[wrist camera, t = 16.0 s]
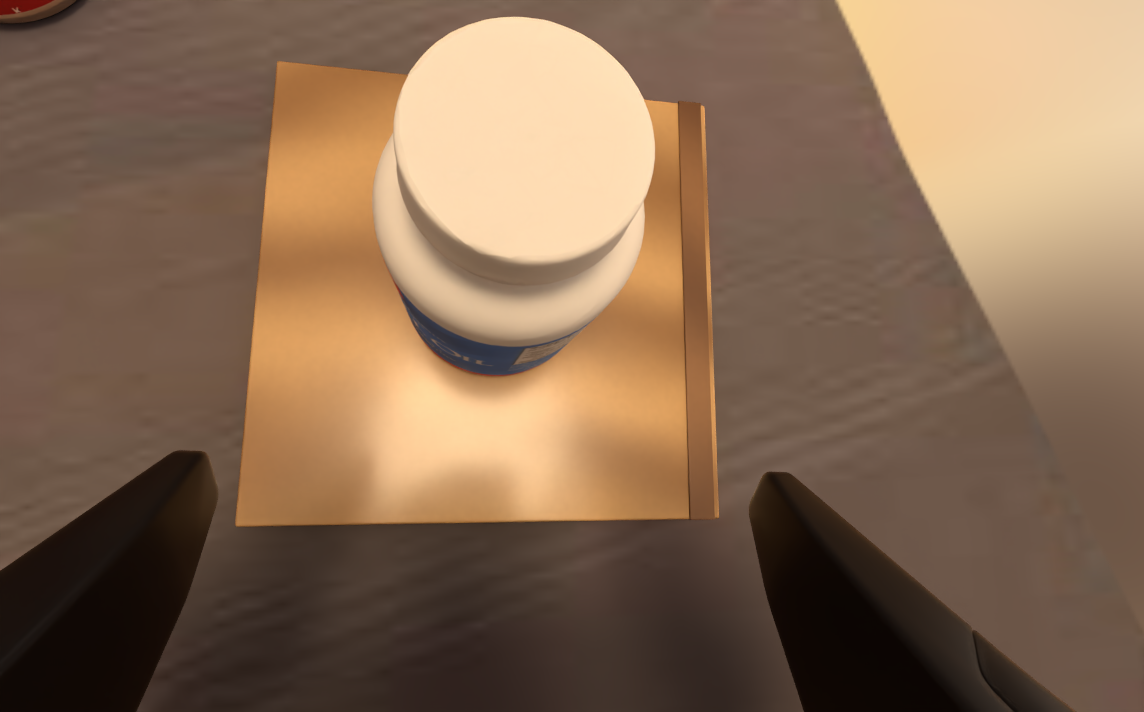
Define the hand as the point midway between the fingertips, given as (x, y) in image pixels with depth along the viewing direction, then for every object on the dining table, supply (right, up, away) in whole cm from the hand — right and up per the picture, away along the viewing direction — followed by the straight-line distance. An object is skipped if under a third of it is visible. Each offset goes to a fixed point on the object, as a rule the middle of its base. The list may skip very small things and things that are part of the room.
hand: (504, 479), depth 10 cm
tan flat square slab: (-1, +4, +9) cm, 10 cm away
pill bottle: (-1, +4, +9) cm, 10 cm away
